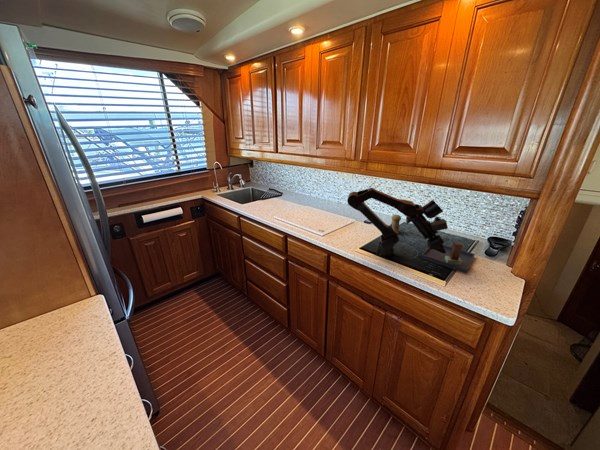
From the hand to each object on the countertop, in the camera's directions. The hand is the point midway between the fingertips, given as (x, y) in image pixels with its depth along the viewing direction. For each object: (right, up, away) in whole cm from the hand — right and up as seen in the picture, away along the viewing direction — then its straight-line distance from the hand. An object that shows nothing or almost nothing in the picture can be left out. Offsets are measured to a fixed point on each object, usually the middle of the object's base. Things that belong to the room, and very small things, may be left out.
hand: (442, 248), depth 112 cm
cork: (-10, +6, +34) cm, 36 cm away
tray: (+6, -5, +6) cm, 10 cm away
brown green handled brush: (+6, -7, +2) cm, 9 cm away
